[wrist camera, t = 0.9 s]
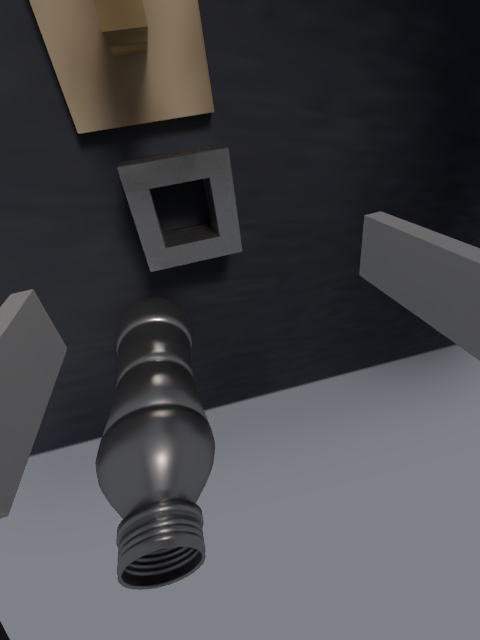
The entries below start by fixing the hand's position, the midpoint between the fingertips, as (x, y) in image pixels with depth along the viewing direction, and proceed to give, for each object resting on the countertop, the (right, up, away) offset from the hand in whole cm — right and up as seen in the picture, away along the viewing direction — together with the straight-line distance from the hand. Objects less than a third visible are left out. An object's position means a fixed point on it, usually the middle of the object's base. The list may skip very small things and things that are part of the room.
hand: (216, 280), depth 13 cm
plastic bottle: (-7, -2, +17) cm, 19 cm away
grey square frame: (-4, +8, +12) cm, 15 cm away
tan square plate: (-6, +16, +6) cm, 18 cm away
